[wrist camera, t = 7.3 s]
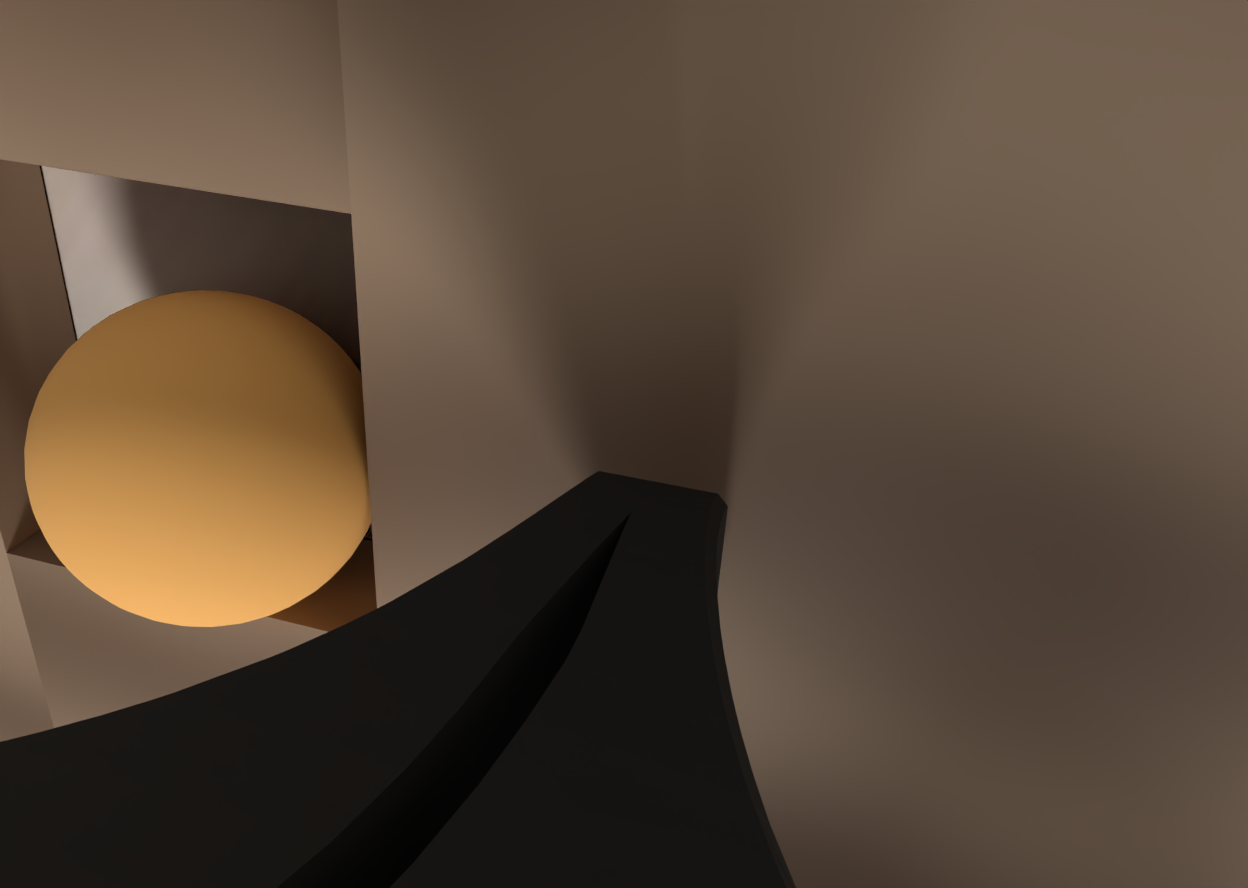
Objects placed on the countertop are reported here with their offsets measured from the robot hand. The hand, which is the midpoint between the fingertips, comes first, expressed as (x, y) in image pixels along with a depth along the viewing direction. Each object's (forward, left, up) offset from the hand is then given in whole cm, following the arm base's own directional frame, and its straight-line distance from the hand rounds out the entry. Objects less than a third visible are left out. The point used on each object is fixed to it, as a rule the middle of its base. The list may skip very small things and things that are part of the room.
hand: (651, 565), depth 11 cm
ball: (0, +6, -1) cm, 6 cm away
